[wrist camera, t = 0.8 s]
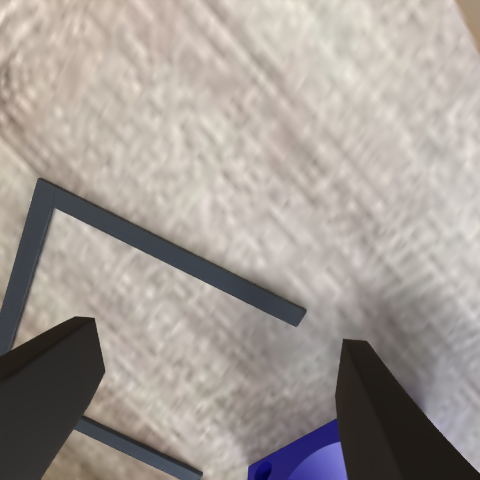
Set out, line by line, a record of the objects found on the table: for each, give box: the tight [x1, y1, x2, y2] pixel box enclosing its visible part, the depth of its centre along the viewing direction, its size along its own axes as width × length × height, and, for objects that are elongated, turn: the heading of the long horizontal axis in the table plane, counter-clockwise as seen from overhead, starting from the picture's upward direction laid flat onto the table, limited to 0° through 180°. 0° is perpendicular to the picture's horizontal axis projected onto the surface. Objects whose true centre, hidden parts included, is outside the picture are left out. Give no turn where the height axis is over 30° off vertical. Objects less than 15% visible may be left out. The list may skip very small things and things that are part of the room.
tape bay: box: [0, 178, 306, 480], centre depth 22 cm, size 16×17×1 cm
